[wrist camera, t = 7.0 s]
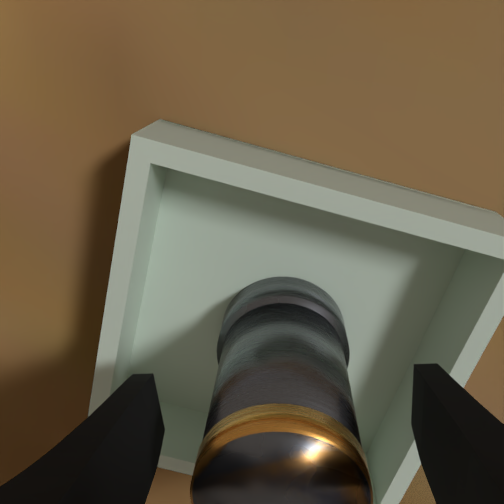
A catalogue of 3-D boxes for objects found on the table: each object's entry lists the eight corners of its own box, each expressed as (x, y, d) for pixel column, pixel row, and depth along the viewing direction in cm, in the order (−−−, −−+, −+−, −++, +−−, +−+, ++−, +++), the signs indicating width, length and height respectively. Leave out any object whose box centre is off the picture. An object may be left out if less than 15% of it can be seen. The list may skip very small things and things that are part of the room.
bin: (495, 211, 15) (541, 247, 13) (373, 457, 20) (387, 523, 17) (159, 118, 15) (131, 134, 12) (111, 391, 19) (82, 448, 17)
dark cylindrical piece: (345, 379, 18) (378, 566, 11) (228, 382, 18) (196, 565, 12) (343, 273, 16) (381, 422, 10) (215, 279, 16) (169, 426, 10)
